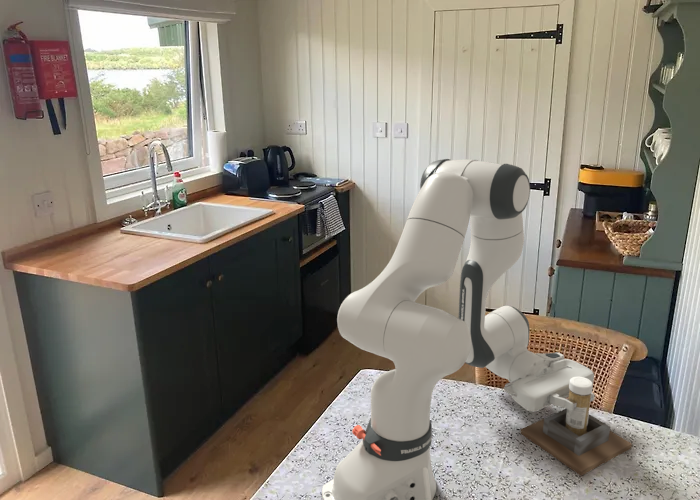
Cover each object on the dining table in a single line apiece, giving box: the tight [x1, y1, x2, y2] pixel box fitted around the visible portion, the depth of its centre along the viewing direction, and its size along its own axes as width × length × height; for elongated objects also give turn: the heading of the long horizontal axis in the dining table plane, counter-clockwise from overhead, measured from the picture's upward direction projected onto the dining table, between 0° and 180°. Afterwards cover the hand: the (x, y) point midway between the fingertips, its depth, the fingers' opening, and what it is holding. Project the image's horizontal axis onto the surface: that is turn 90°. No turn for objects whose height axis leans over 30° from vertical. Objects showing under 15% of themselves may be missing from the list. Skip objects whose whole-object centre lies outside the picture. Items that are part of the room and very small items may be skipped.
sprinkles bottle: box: [565, 377, 594, 436], centre depth 121 cm, size 5×5×14 cm
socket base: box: [519, 408, 633, 477], centre depth 123 cm, size 16×16×5 cm
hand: (583, 402), depth 120 cm, fingers closed on sprinkles bottle, 4 cm apart
